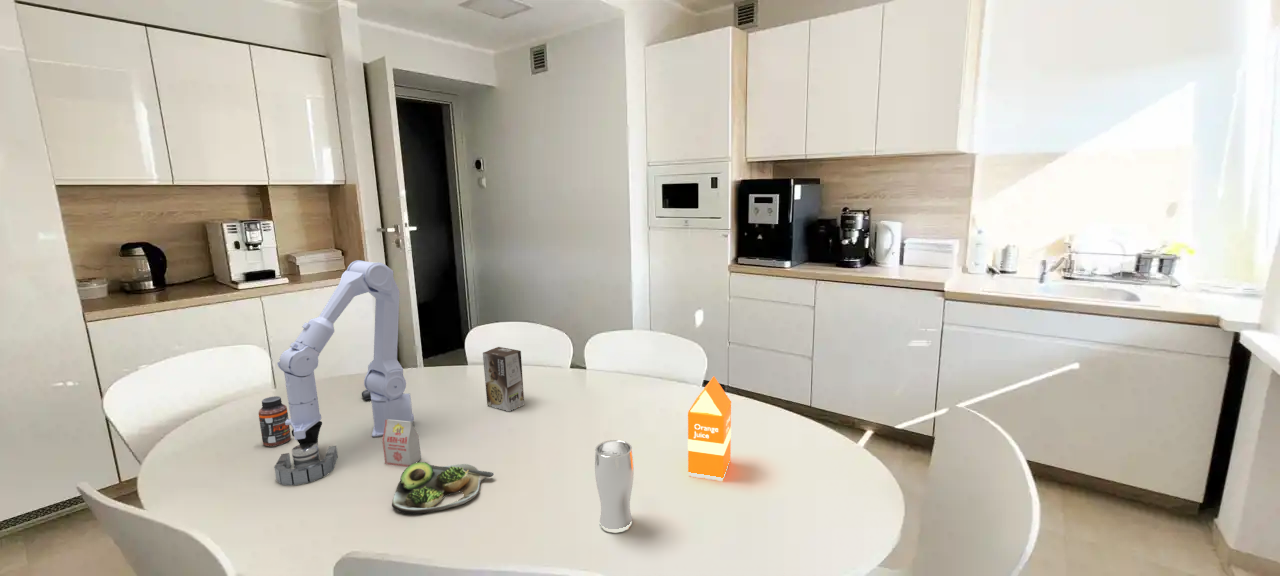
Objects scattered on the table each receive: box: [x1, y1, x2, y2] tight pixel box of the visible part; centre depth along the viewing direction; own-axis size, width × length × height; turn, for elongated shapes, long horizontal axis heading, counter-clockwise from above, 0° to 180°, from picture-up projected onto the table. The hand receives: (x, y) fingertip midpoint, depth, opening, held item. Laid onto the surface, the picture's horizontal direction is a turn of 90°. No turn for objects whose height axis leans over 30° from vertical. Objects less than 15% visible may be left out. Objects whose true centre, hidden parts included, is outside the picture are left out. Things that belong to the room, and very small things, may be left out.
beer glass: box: [594, 439, 634, 529], centre depth 101 cm, size 7×7×15 cm
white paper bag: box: [382, 419, 422, 467], centre depth 126 cm, size 4×7×10 cm, turn 75°
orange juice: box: [687, 376, 732, 478], centre depth 119 cm, size 8×9×20 cm
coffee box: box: [482, 346, 525, 412], centre depth 157 cm, size 9×6×16 cm
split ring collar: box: [274, 445, 339, 486], centre depth 123 cm, size 11×10×3 cm
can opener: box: [361, 389, 371, 401], centre depth 171 cm, size 18×7×6 cm, turn 24°
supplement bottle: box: [258, 395, 292, 447], centre depth 137 cm, size 6×6×11 cm
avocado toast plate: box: [391, 461, 494, 515], centre depth 115 cm, size 19×18×5 cm
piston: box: [291, 442, 321, 469], centre depth 124 cm, size 5×5×5 cm
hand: (311, 455), depth 128 cm, fingers closed
